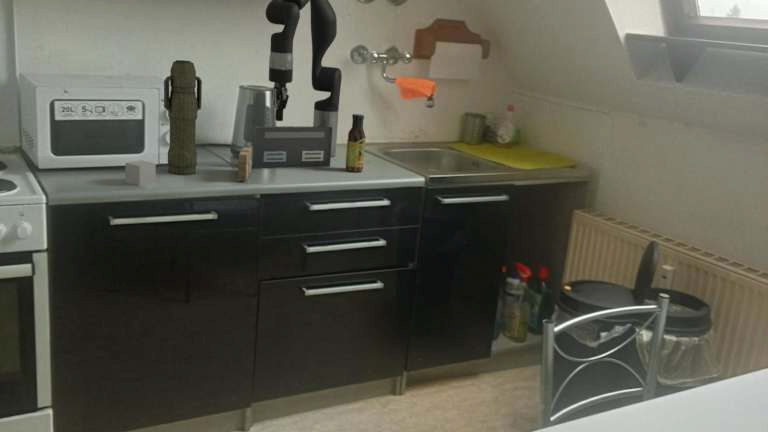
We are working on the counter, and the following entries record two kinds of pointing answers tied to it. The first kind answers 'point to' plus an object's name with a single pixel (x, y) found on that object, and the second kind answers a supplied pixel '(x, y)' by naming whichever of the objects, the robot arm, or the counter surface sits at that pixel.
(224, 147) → the counter surface
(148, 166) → the light grey cube
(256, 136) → the panel
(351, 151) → the sauce bottle
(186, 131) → the thermos
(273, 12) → the robot arm
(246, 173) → the wooden block
